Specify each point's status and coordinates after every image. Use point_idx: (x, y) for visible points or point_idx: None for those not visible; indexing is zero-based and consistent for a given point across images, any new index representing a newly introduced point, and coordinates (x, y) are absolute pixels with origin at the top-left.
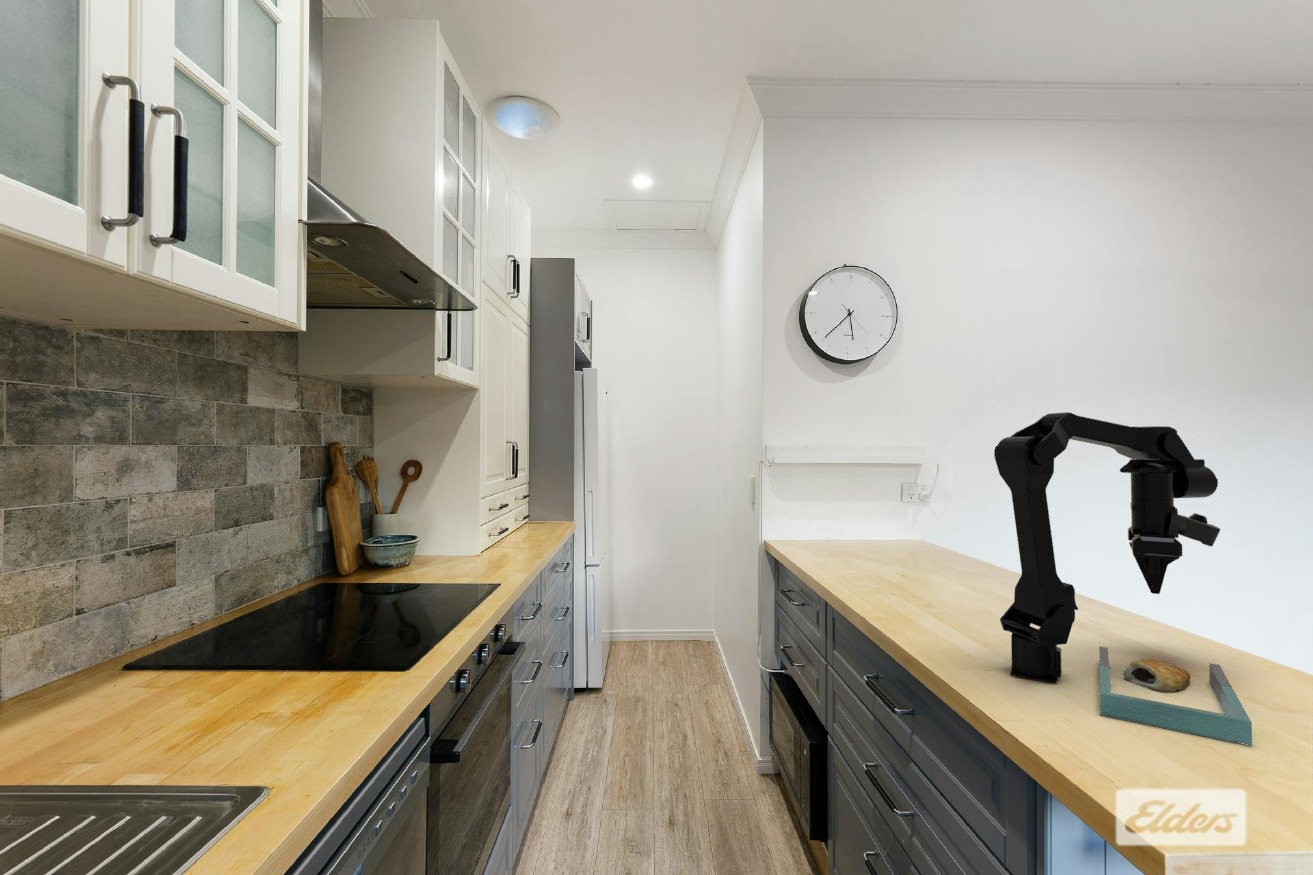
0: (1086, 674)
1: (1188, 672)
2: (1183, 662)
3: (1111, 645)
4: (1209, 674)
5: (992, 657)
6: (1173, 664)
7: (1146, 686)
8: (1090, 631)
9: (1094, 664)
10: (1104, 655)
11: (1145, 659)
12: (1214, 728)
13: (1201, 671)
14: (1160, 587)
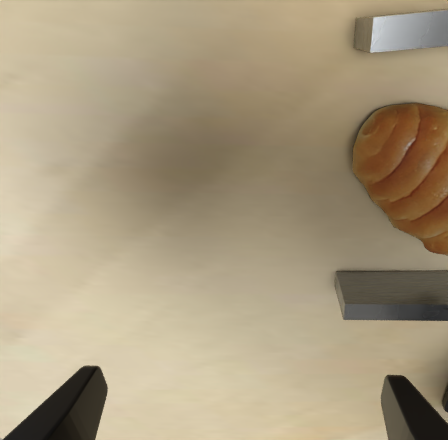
0: None
1: (407, 112)
2: (175, 112)
3: (142, 264)
4: (359, 49)
5: None
6: (387, 154)
7: None
8: (48, 300)
9: None
10: (438, 311)
11: (431, 229)
12: None
13: (242, 66)
14: (439, 419)
